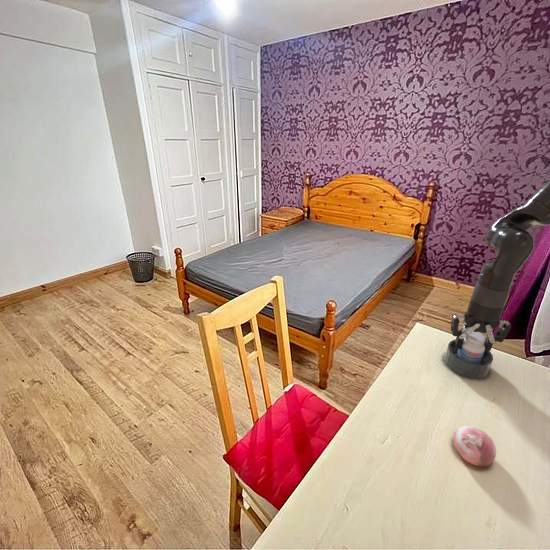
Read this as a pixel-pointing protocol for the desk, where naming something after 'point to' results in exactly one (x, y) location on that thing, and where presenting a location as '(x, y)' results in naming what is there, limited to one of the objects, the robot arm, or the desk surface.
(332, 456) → the desk surface
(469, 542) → the desk surface
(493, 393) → the desk surface
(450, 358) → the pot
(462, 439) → the onion
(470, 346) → the pill bottle
